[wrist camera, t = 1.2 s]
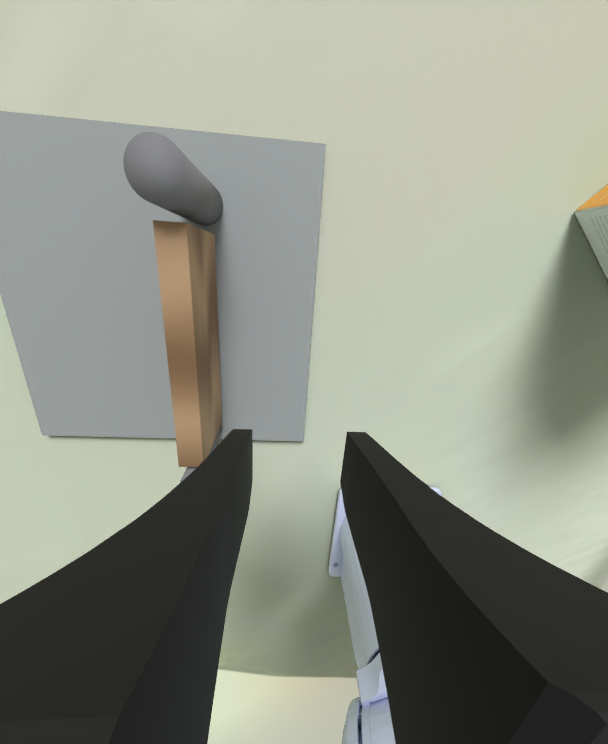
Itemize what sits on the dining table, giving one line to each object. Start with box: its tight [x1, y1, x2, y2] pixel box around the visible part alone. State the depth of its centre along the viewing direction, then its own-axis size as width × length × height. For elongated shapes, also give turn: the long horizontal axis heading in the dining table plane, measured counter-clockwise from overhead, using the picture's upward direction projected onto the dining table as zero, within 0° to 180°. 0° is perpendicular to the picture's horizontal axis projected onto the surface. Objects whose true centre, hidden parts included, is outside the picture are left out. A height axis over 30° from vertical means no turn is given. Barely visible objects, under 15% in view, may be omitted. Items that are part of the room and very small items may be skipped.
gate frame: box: [0, 111, 326, 483], centre depth 14 cm, size 17×17×6 cm
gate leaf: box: [153, 220, 222, 467], centre depth 14 cm, size 11×1×4 cm, turn 176°
